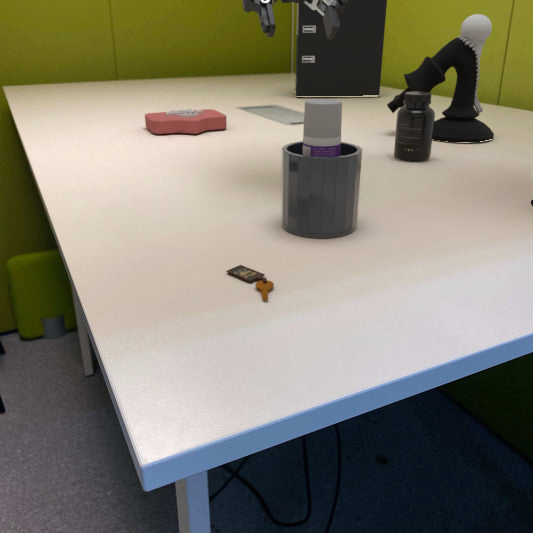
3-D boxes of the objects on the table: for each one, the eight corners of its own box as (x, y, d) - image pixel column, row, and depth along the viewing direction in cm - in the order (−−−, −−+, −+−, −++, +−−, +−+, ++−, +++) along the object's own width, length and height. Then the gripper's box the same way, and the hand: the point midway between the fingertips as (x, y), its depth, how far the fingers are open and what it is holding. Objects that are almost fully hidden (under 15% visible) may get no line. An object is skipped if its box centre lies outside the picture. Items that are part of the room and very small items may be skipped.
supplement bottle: (398, 152, 109) (404, 89, 104) (433, 155, 106) (441, 91, 101) (389, 160, 103) (395, 93, 98) (425, 163, 101) (434, 96, 96)
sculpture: (500, 144, 115) (523, 13, 105) (386, 141, 118) (397, 14, 108) (484, 130, 129) (503, 13, 119) (382, 128, 132) (392, 14, 122)
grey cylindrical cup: (317, 207, 78) (319, 137, 74) (372, 225, 71) (378, 148, 67) (266, 223, 72) (265, 148, 68) (321, 244, 65) (324, 162, 61)
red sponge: (155, 120, 120) (142, 111, 133) (157, 138, 122) (144, 127, 135) (232, 115, 127) (213, 106, 139) (233, 132, 128) (213, 122, 141)
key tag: (224, 270, 59) (223, 265, 58) (247, 264, 60) (247, 259, 60) (264, 301, 52) (264, 295, 52) (290, 293, 54) (290, 287, 54)
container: (343, 218, 72) (349, 100, 66) (326, 228, 69) (331, 105, 62) (311, 211, 75) (315, 97, 68) (294, 221, 71) (296, 102, 65)
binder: (372, 92, 193) (380, -10, 179) (379, 98, 179) (388, -12, 166) (295, 92, 193) (297, -9, 180) (296, 98, 180) (298, -11, 166)
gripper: (237, -88, 72) (256, 10, 67) (337, -80, 76) (362, 14, 71) (228, -40, 79) (245, 52, 74) (321, -34, 83) (343, 54, 78)
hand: (302, 33), depth 73 cm, fingers open, 8 cm apart
